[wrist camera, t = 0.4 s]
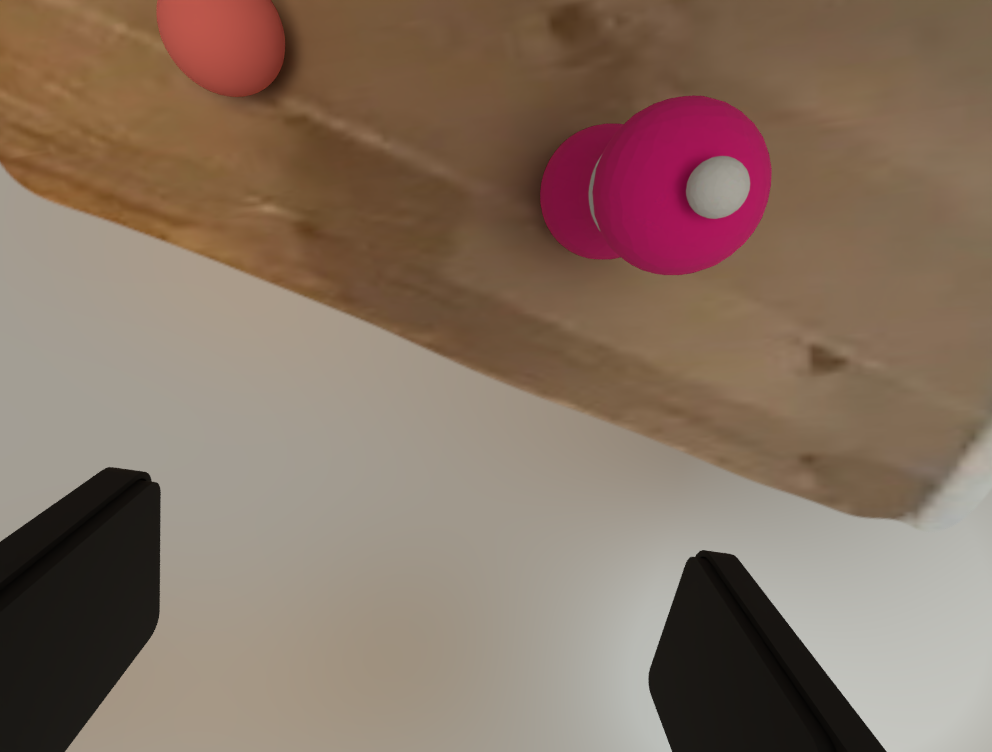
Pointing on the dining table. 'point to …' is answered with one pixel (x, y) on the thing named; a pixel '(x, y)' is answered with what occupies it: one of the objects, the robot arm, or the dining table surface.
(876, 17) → the dining table surface
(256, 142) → the dining table surface
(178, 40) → the ball
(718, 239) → the pepper mill
